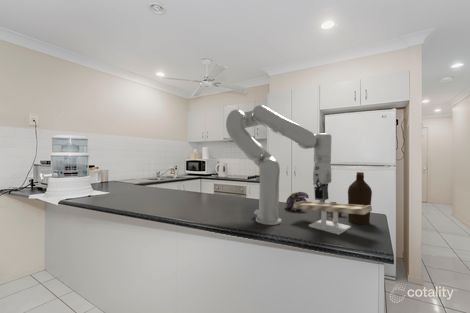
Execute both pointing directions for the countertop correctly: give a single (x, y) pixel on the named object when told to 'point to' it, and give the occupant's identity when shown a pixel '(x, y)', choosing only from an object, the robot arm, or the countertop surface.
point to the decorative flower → (295, 200)
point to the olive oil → (359, 198)
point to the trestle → (330, 224)
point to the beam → (334, 207)
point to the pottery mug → (338, 212)
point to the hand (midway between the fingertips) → (321, 197)
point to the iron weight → (323, 193)
